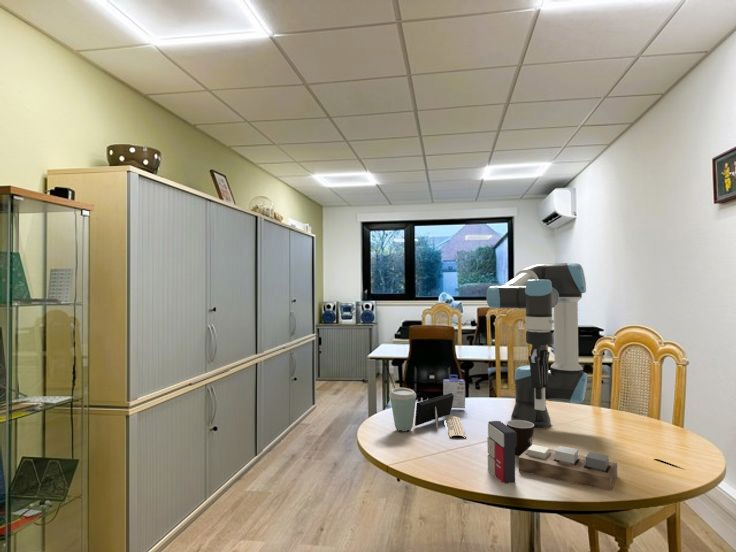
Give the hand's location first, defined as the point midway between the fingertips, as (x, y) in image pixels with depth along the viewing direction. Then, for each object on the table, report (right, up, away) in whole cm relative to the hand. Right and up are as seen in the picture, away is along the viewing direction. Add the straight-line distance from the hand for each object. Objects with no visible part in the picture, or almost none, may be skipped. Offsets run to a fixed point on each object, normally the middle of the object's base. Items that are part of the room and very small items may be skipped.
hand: (540, 409), depth 135 cm
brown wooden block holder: (+6, -18, -5) cm, 20 cm away
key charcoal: (+12, -15, -10) cm, 22 cm away
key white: (0, -17, 0) cm, 17 cm away
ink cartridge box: (-12, -20, +71) cm, 74 cm away
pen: (+40, -19, 0) cm, 44 cm away
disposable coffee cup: (-38, -20, +40) cm, 58 cm away
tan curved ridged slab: (-18, -20, +41) cm, 49 cm away
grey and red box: (-13, -19, -5) cm, 23 cm away
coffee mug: (0, -19, +14) cm, 23 cm away
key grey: (+6, -15, -5) cm, 17 cm away
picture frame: (-19, -16, +49) cm, 55 cm away
